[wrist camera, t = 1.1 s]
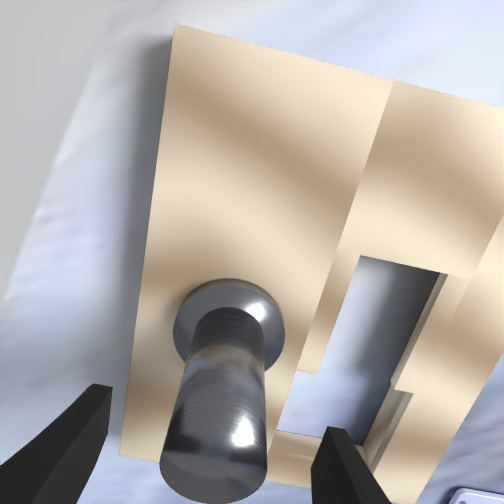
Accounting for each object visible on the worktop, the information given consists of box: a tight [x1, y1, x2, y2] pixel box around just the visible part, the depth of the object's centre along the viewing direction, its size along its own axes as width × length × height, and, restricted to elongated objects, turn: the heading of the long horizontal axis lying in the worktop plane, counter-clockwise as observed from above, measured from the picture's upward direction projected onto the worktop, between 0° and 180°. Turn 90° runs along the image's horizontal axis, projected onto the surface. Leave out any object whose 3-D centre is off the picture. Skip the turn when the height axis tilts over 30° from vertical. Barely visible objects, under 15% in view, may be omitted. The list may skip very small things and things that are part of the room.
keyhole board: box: [119, 23, 504, 504], centre depth 19 cm, size 22×18×2 cm
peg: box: [159, 278, 285, 504], centre depth 14 cm, size 5×5×8 cm
